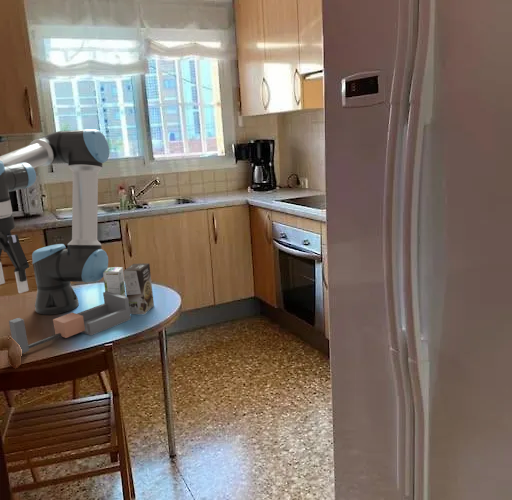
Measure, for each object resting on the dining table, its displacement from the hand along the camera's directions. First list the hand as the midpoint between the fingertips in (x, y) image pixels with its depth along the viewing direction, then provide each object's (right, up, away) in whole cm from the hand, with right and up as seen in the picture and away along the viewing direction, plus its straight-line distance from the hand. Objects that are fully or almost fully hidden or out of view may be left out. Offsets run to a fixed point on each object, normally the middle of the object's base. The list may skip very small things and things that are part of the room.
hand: (11, 288), depth 160 cm
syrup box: (+21, -10, +40) cm, 46 cm away
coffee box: (+30, -11, +36) cm, 48 cm away
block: (+7, -17, +11) cm, 22 cm away
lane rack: (+19, -14, +25) cm, 34 cm away
